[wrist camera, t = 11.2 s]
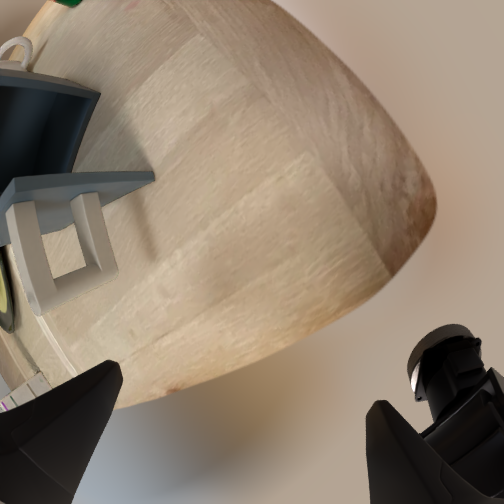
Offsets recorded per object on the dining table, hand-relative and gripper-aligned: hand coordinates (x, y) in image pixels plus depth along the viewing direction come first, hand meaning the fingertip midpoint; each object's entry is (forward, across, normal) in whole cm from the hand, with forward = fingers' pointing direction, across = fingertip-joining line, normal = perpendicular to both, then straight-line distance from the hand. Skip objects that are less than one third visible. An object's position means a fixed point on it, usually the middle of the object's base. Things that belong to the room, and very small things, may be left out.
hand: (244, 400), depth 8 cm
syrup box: (+18, +44, +40) cm, 62 cm away
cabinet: (+18, +25, -8) cm, 32 cm away
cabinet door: (+15, +15, +1) cm, 22 cm away
